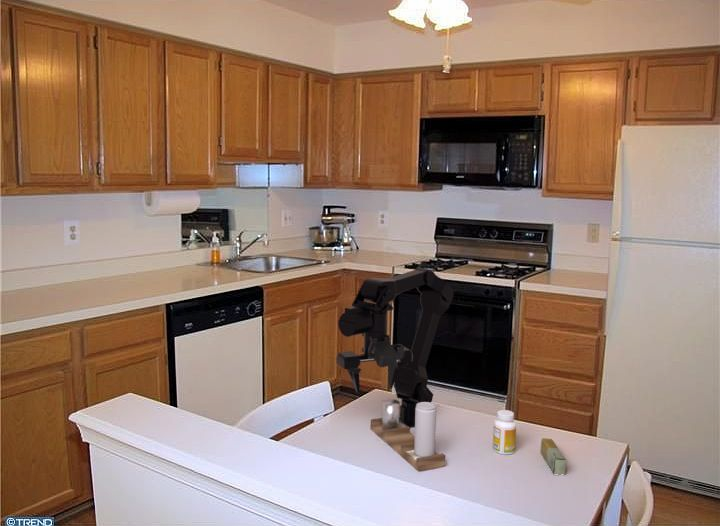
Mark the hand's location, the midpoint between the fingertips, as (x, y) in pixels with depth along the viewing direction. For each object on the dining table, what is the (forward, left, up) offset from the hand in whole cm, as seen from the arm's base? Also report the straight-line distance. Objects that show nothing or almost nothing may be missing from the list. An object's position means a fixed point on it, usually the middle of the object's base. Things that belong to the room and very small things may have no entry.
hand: (374, 390), depth 159 cm
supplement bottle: (-27, +18, -13) cm, 35 cm away
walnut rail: (-6, +7, -13) cm, 16 cm away
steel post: (-6, -2, -12) cm, 13 cm away
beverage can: (-6, +15, -12) cm, 20 cm away
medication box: (-33, +28, -13) cm, 46 cm away
